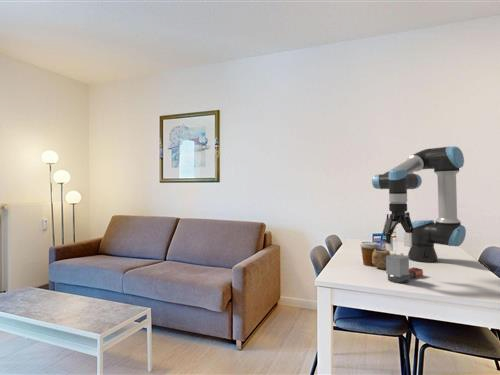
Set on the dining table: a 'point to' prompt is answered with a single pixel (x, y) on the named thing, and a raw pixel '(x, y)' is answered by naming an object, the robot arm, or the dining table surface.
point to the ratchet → (405, 279)
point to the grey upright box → (397, 265)
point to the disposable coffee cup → (368, 252)
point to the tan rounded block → (380, 257)
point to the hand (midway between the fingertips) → (398, 248)
